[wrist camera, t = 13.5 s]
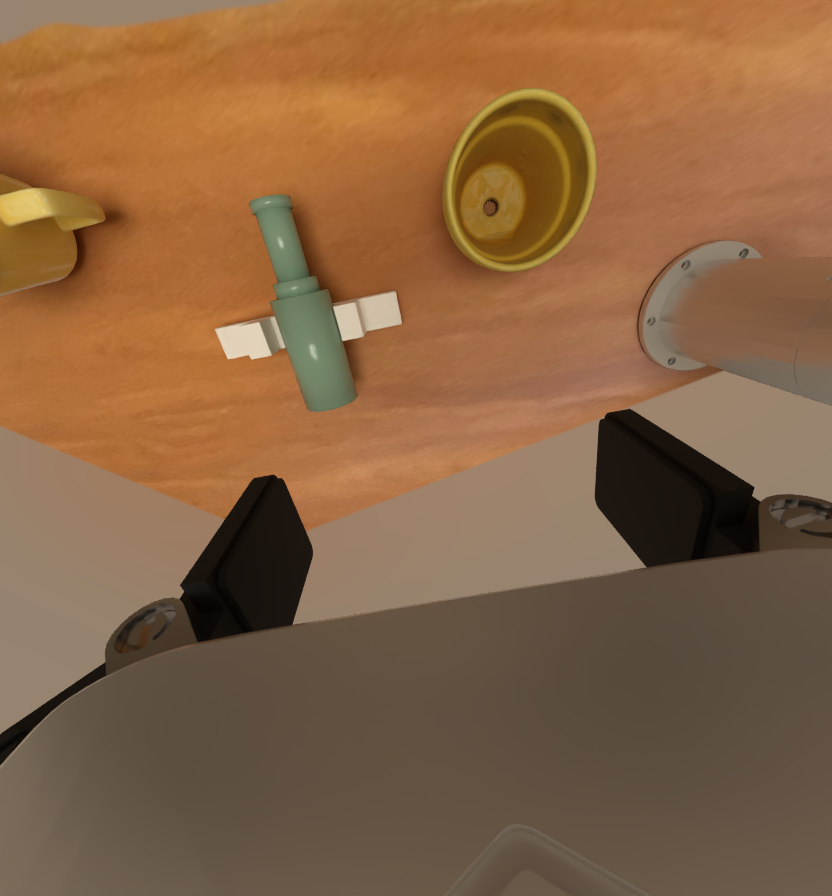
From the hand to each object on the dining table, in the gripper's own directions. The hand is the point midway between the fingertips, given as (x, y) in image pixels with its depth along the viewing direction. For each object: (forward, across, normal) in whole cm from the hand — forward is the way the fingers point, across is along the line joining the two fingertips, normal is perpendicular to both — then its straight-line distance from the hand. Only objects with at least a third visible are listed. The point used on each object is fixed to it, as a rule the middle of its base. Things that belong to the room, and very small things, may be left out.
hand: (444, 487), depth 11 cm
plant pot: (+31, -9, -9) cm, 33 cm away
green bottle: (+26, +9, +5) cm, 28 cm away
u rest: (+30, +10, -2) cm, 32 cm away
